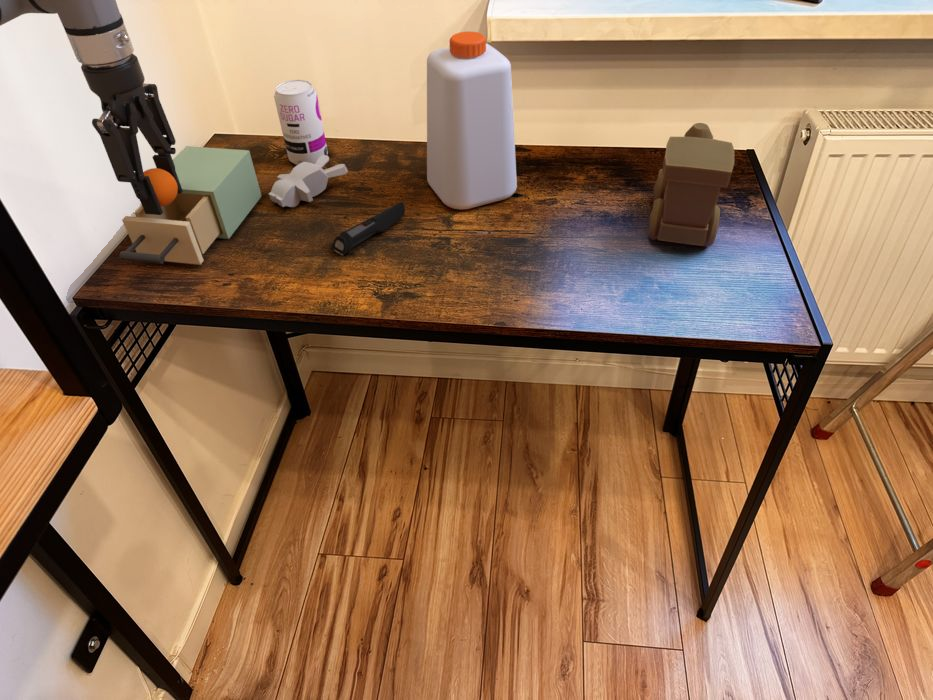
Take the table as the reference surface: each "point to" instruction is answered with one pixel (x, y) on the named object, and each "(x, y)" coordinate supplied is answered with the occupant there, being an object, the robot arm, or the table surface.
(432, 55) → the plastic bottle
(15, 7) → the robot arm
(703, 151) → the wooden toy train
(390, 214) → the electric trimmer
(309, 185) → the bunny figurine
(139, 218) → the drawer
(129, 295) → the table surface
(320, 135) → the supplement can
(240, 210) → the cabinet
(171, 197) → the ball
